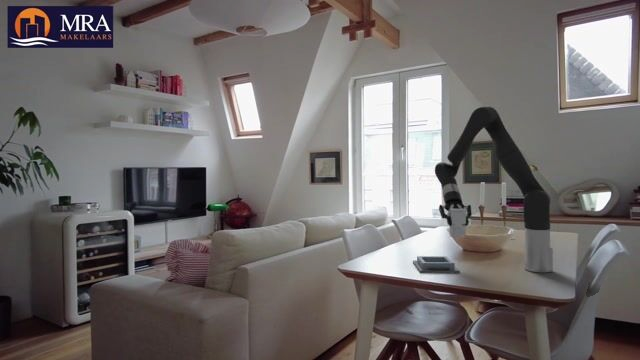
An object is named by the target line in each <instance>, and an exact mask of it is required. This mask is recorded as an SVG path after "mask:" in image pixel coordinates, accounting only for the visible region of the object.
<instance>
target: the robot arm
mask: <svg viewBox="0 0 640 360" xmlns="http://www.w3.org/2000/svg"><path fill="white" fill-rule="evenodd" d="M483 129H485V131H486V132H487V133H488V135H489V136H490V138H491V141H492V144H493V148H494V155H495V157H496V158H497V159H496V160H497V161H498V162H499V164H500V165H501V167H502V168H503V170H504V171H505V172H506V174H507V175H508V176H509V177H510V178H511V179H512V180H513V181H514V182H515V184H516V185H517V186H518V188H519V190H520V193H522V196H523V205H522V206H523V224H524V269H525V270H526V271H529V272H533V273H550V272H552V273H553V272H554V266H553V265H554V264H553V263H554V258H553V256H554V255H553V253H554V252H553V251H554V249H553V248H552V247H551V221H550V220H551V219H550V217H551V216H550V208H551V207H550V205H551V201H552V200H551V197H550V195H549V194H548V192H546V190H545V189H544V188H543V186H541V184H540V182H538V180H537V178H536V177H535V175H534V174H533V171H532V170H531V168H530V166H529V163H528V162H527V160H526V159H525V156H524V154H523V153H522V151H521V150H520V148H519V147H518V145H517V144H516V143H515V141H514V140H513V138H512V136H511V135H510V133H509V132H508V130H507V128H506V127H505V125H504V122H503V121H502V118H501V116H500V115H499V113H498V111H497V110H496V109H495V107H492V106H479V107H477V108H475V109H474V110H473V111H472V112H471V114H470V116H469V119H468V120H467V123H466V125H465V127H464V129H463V131H462V133H461V134H460V136H459V138H458V139H457V141H456V143H455V144H454V145H453V147H452V149H451V150H450V151H449V153H448V154H447V160H448V162H450V163H451V164H450V163H447V162H443V161H440V162H438V163H436V164H435V167H434V174H435V176H436V178H437V180H438V182H439V183H440V184H441V189H442V198H443V200H444V201H443V202H444V205H442V204H440V205H439V206H438V211H439V213H440V216H441V219H443V220H444V219H445V220H446V222H447V225H448V227H450V226H451V225H452V221H451V217H450V209H465V210H466V227H468V226H469V223H470V222H469V219H471V217H472V205H471V204H468V205H465V204H464V203H463V199H462V196H461V192H460V188H459V186H458V183H457V182H458V181H457V180H456V176H458V175H457V174H458V172H459V169H460V167H461V164H462V162H463V160H464V159H465V158H466V157H467V155H468V153H469V152H470V150H471V147H472V144H473V143H474V140H475V138H476V137H477V135H478V134H479V133H480V132H481V131H482V130H483ZM445 210H446V211H447V214H446V211H445Z"/></svg>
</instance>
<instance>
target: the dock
mask: <svg viewBox="0 0 640 360" xmlns="http://www.w3.org/2000/svg"><path fill="white" fill-rule="evenodd" d="M412 263H413V265H414V267H416V269H417V271H418V272H419V273H420V274H461V270H460V269H459V268H457V267H456V265H455V262H454V261H453V260H451V259H450V258H449V257H448V256H444V255H443V256H442V255H441V256H440V255H439V256H437V255H436V256H432V255H431V256H429V255H428V256H427V255H425V256H424V255H423V256H422V255H421V256H419V255H417V256H416V260H412Z"/></svg>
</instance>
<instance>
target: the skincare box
mask: <svg viewBox="0 0 640 360" xmlns="http://www.w3.org/2000/svg"><path fill="white" fill-rule="evenodd" d="M466 214H467V211H466V210H465V209H450V217H451V221H452V225H451V226H449V236H450V237H451V238H466V235H467V233H466V230H467V226H466Z"/></svg>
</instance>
